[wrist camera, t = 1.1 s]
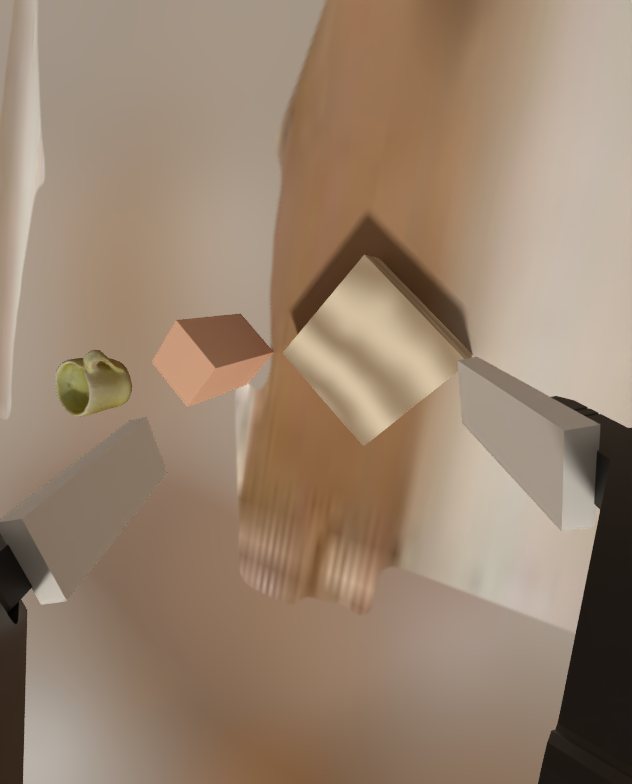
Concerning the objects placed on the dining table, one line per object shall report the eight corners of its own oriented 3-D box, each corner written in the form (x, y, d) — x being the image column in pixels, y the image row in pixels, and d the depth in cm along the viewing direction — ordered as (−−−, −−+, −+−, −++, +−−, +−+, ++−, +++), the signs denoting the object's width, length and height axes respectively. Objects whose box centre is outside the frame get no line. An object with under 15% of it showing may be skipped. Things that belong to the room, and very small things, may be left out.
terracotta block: (240, 313, 48) (176, 320, 39) (273, 352, 47) (215, 368, 38) (216, 348, 51) (151, 362, 42) (246, 384, 51) (187, 407, 41)
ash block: (380, 258, 38) (364, 254, 34) (472, 354, 36) (468, 362, 32) (303, 346, 45) (282, 353, 41) (377, 430, 43) (363, 446, 39)
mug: (114, 427, 65) (53, 425, 56) (102, 380, 68) (43, 372, 60) (155, 392, 61) (97, 384, 52) (140, 344, 64) (83, 329, 55)
